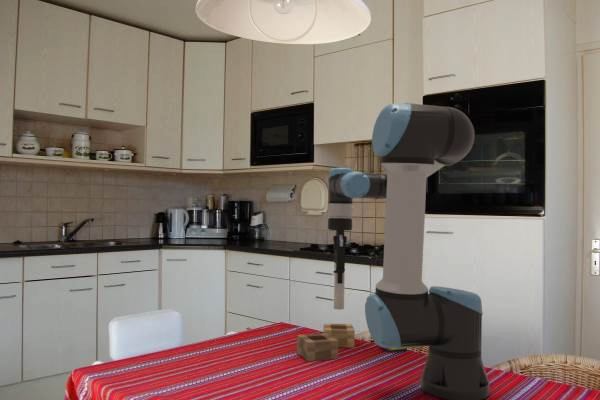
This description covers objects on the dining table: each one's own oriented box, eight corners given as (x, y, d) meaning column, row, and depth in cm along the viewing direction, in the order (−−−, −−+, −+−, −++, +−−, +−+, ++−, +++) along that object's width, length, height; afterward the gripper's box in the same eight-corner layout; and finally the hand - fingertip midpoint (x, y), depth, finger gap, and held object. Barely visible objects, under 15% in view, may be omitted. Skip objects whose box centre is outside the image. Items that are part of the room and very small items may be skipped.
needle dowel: (344, 309, 155) (345, 264, 156) (333, 309, 155) (334, 263, 156) (343, 307, 158) (344, 262, 159) (333, 307, 159) (334, 262, 159)
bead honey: (354, 347, 152) (354, 330, 152) (324, 346, 152) (324, 330, 152) (351, 339, 161) (351, 324, 161) (323, 339, 161) (323, 323, 161)
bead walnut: (338, 358, 140) (338, 340, 140) (307, 361, 137) (308, 342, 137) (325, 350, 148) (325, 333, 148) (296, 352, 145) (297, 335, 145)
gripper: (354, 218, 150) (353, 297, 149) (349, 217, 165) (348, 289, 165) (329, 217, 150) (328, 297, 149) (327, 217, 165) (325, 288, 165)
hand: (338, 292), depth 157 cm, fingers closed on needle dowel, 3 cm apart
